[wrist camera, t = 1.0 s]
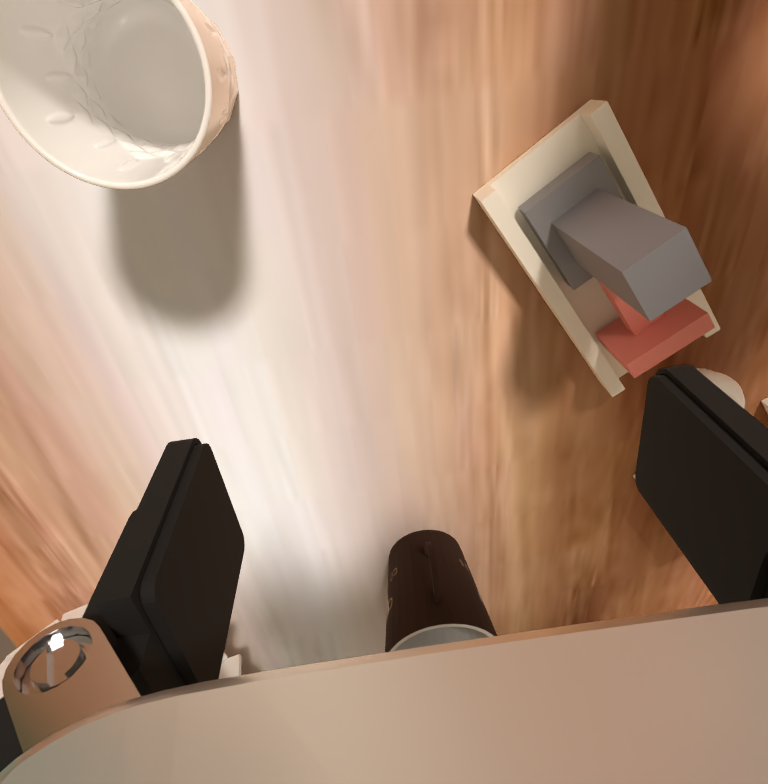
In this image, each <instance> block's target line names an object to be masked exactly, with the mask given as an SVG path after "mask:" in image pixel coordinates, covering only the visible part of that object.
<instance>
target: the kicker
mask: <svg viewBox="0 0 768 784" xmlns="http://www.w3.org/2000/svg"><path fill="white" fill-rule="evenodd" d="M518 209H519V210H520V212H521V214H522V215H523V217H524V218H525V220H526V221H527V223H528V224H529V226H530V228H531V229H532V231H533V232H534V234H535V235H536V237H537V238H538V240H539V242H540V243H541V245H542V246H543V248H544V249H545V251H546V253H547V254H548V256H549V257H550V259H551V260H552V262H553V263H554V265H555V267H556V268H557V270H558V271H559V273H560V274H561V276H562V277H563V279H564V281H565V282H566V283H567V284H568V285H569V286H570V287H571V288H572V289H573V290H575V289H577V288H578V287H580V286H581V285H582V284H584V283H585V282H587V281H588V280H589V279H591V278H592V277H594V278H596V279H597V280H598V282H599V284H600V285H601V287H602V289H603V290H604V292H605V294H606V295H607V297H608V299H609V300H610V302H611V303H612V305H613V307H614V308H615V310H616V312H617V313H618V315H619V318H617V319H616V320H614V321H613V322H611V323H610V324H608V325H607V326H605V327H604V328H602V329H601V330H599V331H598V332H596V333H595V335H596V336H597V338H598V339H599V341H600V342H601V344H602V345H603V347H604V348H605V349H606V350H607V351H608V352H609V353H610V354H611V355H612V356H613V357H614V358H615V359H616V360H617V361H618V362H619V363H620V364H621V365H622V366H623V367H624V368H625V369H626V370H627V371H628V372H629V373H630V374H631V375H632V376H633V377H634V378H636V377H638V376H639V375H641V374H643V373H644V372H646V371H647V370H649V369H650V368H652V367H654V366H655V365H657V364H658V363H660V362H661V361H663V360H665V359H666V358H668V357H669V356H671V355H673V354H674V353H676V352H677V351H679V350H680V349H682V348H684V347H685V346H687V345H688V344H690V343H691V342H693V341H695V340H696V339H698V338H699V337H701V336H703V335H704V334H706V333H707V332H709V331H710V330H712V329H714V328H715V326H714V324H713V322H712V320H711V318H710V316H709V314H708V312H706V311H704V310H703V309H701V308H700V307H698V306H697V305H695V304H694V303H692V302H690V301H689V300H687V299H686V298H687V297H689V296H690V295H692V294H693V293H695V292H696V291H698V290H699V289H701V288H702V287H704V286H705V285H707V284H708V283H710V282H711V281H712V279H711V277H710V275H709V273H708V271H707V269H706V267H705V265H704V262H703V260H702V258H701V256H700V254H699V252H698V250H697V248H696V246H695V244H694V242H693V240H692V237H691V235H690V233H689V231H688V229H687V227H685V226H682V225H680V224H678V223H675V222H673V221H671V220H669V219H666V218H664V217H662V216H659V215H657V214H655V213H653V212H650V211H648V210H646V209H643V208H641V207H639V206H637V205H634V204H632V203H630V202H627V201H625V200H623V198H622V196H621V194H620V192H619V190H618V188H617V186H616V185H615V183H614V181H613V179H612V177H611V175H610V173H609V171H608V169H607V168H606V166H605V164H604V162H603V160H602V158H601V156H600V155H599V154H595V153H592V152H588V153H587V154H586V155H584V156H583V157H582V158H581V159H579V160H578V161H577V162H575V163H574V164H573V165H572V166H570V167H569V168H568V169H566V170H565V171H564V172H563V173H561V174H560V175H559V176H557V177H556V178H555V179H554V180H552V181H551V182H550V183H548V184H547V185H546V186H544V187H543V188H542V189H541V190H539V191H538V192H537V193H535V194H534V195H533V196H532V197H530V198H529V199H528V200H526V201H525V202H524V203H523V204H521V205H520V206H519V207H518Z"/></svg>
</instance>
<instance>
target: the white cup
mask: <svg viewBox="0 0 768 784" xmlns="http://www.w3.org/2000/svg"><path fill="white" fill-rule="evenodd" d="M237 93H238V85H237V78H236V70H235V62H234V57H233V55H232V53H231V51H230V49H229V48H228V46H227V44H226V42H225V40H224V39H223V37H222V35H221V33H220V31H219V29H218V28H217V26H216V25H215V24H214V23H213V22H212V21H210V20H209V19H208V18H207V17H206V15H205V14H204V13H203V12H202V11H201V10H200V9H199V8H198V7H197V6H196V5H195V4H194V3H193V2H191V1H190V0H0V105H1V107H2V109H3V111H4V112H5V114H6V115H7V117H8V119H9V120H10V121H11V123H12V124H13V126H14V127H15V128H16V130H17V131H18V132H19V133H20V135H21V136H22V137H23V138H24V139H25V140H26V141H27V142H28V144H29V145H30V146H31V147H32V148H33V149H35V150H36V151H37V152H38V153H39V154H40V155H41V156H42V157H44V158H45V159H46V160H47V161H49V162H50V163H51V164H53V165H54V166H56V167H57V168H59V169H60V170H62V171H64V172H65V173H67V174H69V175H71V176H73V177H75V178H77V179H80V180H82V181H84V182H87V183H90V184H93V185H97V186H101V187H105V188H111V189H124V190H127V189H139V188H145V187H149V186H153V185H156V184H158V183H161V182H163V181H165V180H167V179H169V178H170V177H172V176H174V175H175V174H176V173H178V172H179V171H180V170H181V169H183V168H184V167H185V166H186V165H187V164H188V163H189V162H191V161H192V160H193V159H194V158H195V157H197V156H198V155H199V154H200V153H201V152H203V151H204V150H205V149H206V148H207V147H208V145H209V144H210V143H211V142H212V141H213V140H214V139H215V138H216V137H217V136H218V134H219V133H220V131H221V130H222V128H223V126H224V125H225V124H226V123H227V122H228V121H229V120H230V117H231V114H232V111H233V107H234V104H235V100H236V97H237Z"/></svg>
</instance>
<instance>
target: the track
mask: <svg viewBox="0 0 768 784" xmlns="http://www.w3.org/2000/svg"><path fill="white" fill-rule="evenodd" d="M588 152H592V153H595V154H599V155H600V156H601V158H602V160H603V162H604V164H605V166H606V168H607V169H608V171H609V173H610V175H611V177H612V179H613V181H614V183H615V185H616V186H617V188H618V190H619V192H620V194H621V196H622V198H623V200H625V201H627V202H630V203H632V204H634V205H637V206H639V207H641V208H643V209H646V210H648V211H650V212H653V213H655V214H657V215H659V216H662V217H664V218H665V216H664V214H663V212H662V210H661V208H660V206H659V204H658V202H657V200H656V198H655V196H654V194H653V192H652V190H651V188H650V186H649V184H648V182H647V180H646V178H645V176H644V174H643V172H642V170H641V168H640V166H639V164H638V162H637V160H636V158H635V156H634V154H633V152H632V150H631V148H630V146H629V144H628V142H627V140H626V138H625V136H624V134H623V131H622V129H621V127H620V125H619V123H618V121H617V119H616V117H615V115H614V113H613V111H612V109H611V107H610V105H609V103H608V101H602V100H591V99H590V100H589V101H588V102H587V103H585V104H584V105H583V106H582V107H580V108H579V109H578V110H577V111H575V112H574V113H573V114H572V115H570V116H569V117H568V118H567V119H566V120H564V121H563V122H562V123H561V124H559V125H558V126H557V127H556V128H554V129H553V130H552V131H551V132H549V133H548V134H547V135H546V136H544V137H543V138H542V139H541V140H539V141H538V142H537V143H536V144H534V145H533V146H532V147H531V148H529V149H528V150H527V151H526V152H524V153H523V154H522V155H521V156H520V157H518V158H517V159H516V160H515V161H513V162H512V163H511V164H510V165H508V166H507V167H506V168H505V169H503V170H502V171H501V172H500V173H498V174H497V175H496V176H495V177H493V178H492V179H491V180H490V181H488V182H487V183H486V184H485V185H483V186H482V187H481V188H480V189H478V190H477V191H476V192H475V193H474V194H473V196H474V197H475V199H476V200H477V202H478V203H479V205H480V206H481V208H482V209H483V210H484V212H485V213H486V215H487V216H488V218H489V219H490V221H491V222H492V224H493V225H494V227H495V228H496V230H497V231H498V233H499V234H500V236H501V237H502V239H503V240H504V242H505V243H506V244H507V246H508V247H509V249H510V250H511V252H512V253H513V255H514V256H515V258H516V259H517V261H518V262H519V264H520V265H521V267H522V268H523V270H524V271H525V273H526V274H527V275H528V277H529V278H530V280H531V281H532V283H533V284H534V286H535V287H536V289H537V290H538V292H539V293H540V295H541V296H542V298H543V299H544V301H545V302H546V304H547V305H548V306H549V308H550V309H551V311H552V312H553V314H554V315H555V317H556V318H557V320H558V321H559V323H560V324H561V326H562V327H563V329H564V330H565V332H566V333H567V335H568V336H569V337H570V339H571V340H572V342H573V343H574V345H575V346H576V348H577V349H578V351H579V352H580V354H581V355H582V357H583V358H584V360H585V361H586V363H587V364H588V366H589V367H590V368H591V370H592V371H593V373H594V374H595V376H596V377H597V379H598V380H599V382H600V383H601V384H602V385H603V387H604V388H605V389H606V390H607V391H608V392H609V394H610V395H611V396H612V397H614V396H615V395H617V394H619V393H620V392H622V391H623V390H625V388H624V386H623V385H622V383H621V381H620V380H619V378H620V377H621V376H623V375H624V374H626V373H627V372H628V371H627V370H626V369H625V368H624V367H623V366H622V365H621V364H620V363H619V362H618V361H617V360H616V359H615V358H614V357H613V356H612V355H611V354H610V353H609V352H608V351H607V350H606V349H605V348H604V347H603V345H602V344H601V342H600V341H599V339H598V338H597V336H596V335H595V333H596V332H598V331H599V330H601V329H602V328H604V327H605V326H607V325H608V324H610V323H611V322H613V321H614V320H616V319H617V318H619V315H618V313H617V312H616V310H615V308H614V307H613V305H612V303H611V302H610V300H609V299H608V297H607V295H606V294H605V292H604V290H603V289H602V287H601V285H600V284H599V282H598V280H597V279H596V278H594V277H592V278H591V279H589V280H588V281H587V282H585V283H584V284H582V285H581V286H580V287H578V288H577V289H575V290H573V289H572V288H571V287H570V286H569V285H568V284H567V283H566V282H565V281H564V279H563V277H562V276H561V274H560V273H559V271H558V270H557V268H556V267H555V265H554V263H553V262H552V260H551V259H550V257H549V256H548V254H547V253H546V251H545V249H544V248H543V246H542V245H541V243H540V242H539V240H538V238H537V237H536V235H535V234H534V232H533V231H532V229H531V228H530V226H529V224H528V223H527V221H526V220H525V218H524V217H523V215H522V214H521V212H520V210H519V209H518V207H519V206H520V205H521V204H523V203H524V202H525V201H526V200H528V199H529V198H530V197H532V196H533V195H534V194H535V193H537V192H538V191H539V190H541V189H542V188H543V187H544V186H546V185H547V184H548V183H550V182H551V181H552V180H554V179H555V178H556V177H557V176H559V175H560V174H561V173H563V172H564V171H565V170H566V169H568V168H569V167H570V166H572V165H573V164H574V163H575V162H577V161H578V160H579V159H581V158H582V157H583V156H584V155H586V154H587V153H588ZM686 299H687V300H689V301H690V302H692V303H694V304H695V305H697V306H698V307H700V308H701V309H703V310H704V311H706V312H708V314H709V316H710V318H711V320H712V322H713V324H714V326H715V328H714V329H712V330H710V331H709V332H707V333H706V334H704V335H703V336H704V337H706V338H707V337H709V336H711V335H712V334H714V333H715V332H717V331H719V330H720V327H719V324H718V322H717V320H716V318H715V316H714V314H713V312H712V310H711V308H710V306H709V304H708V302H707V300H706V298H705V296H704V294H703V292H702V290H701V289H699V290H698V291H696V292H695V293H693V294H692V295H690V296H689V297H687V298H686Z"/></svg>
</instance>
